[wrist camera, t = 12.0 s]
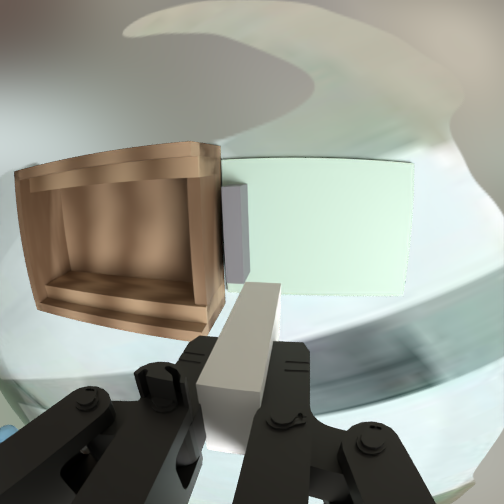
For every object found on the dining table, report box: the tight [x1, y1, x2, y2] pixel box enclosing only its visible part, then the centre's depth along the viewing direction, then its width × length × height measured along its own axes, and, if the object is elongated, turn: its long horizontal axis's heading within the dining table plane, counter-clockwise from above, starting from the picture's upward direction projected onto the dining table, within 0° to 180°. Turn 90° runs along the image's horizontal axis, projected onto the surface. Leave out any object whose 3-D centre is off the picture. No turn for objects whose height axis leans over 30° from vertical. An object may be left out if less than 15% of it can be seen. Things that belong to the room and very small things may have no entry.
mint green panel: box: [221, 158, 414, 296], centre depth 24 cm, size 17×12×4 cm
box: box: [14, 141, 225, 342], centre depth 25 cm, size 20×15×7 cm
